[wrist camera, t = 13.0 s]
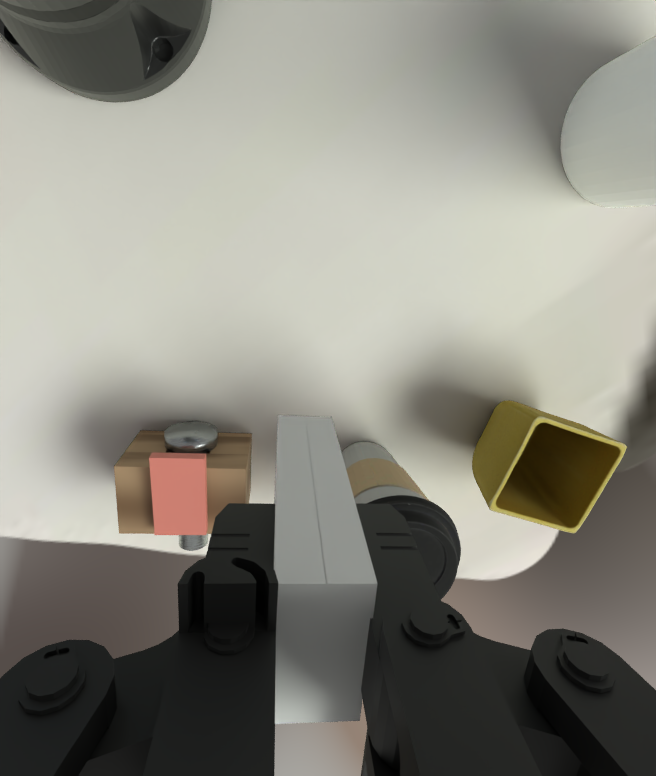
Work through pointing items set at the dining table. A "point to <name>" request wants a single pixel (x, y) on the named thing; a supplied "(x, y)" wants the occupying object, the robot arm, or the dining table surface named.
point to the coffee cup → (406, 508)
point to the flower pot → (542, 466)
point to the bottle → (614, 132)
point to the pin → (191, 441)
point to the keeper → (179, 493)
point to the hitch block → (223, 478)
